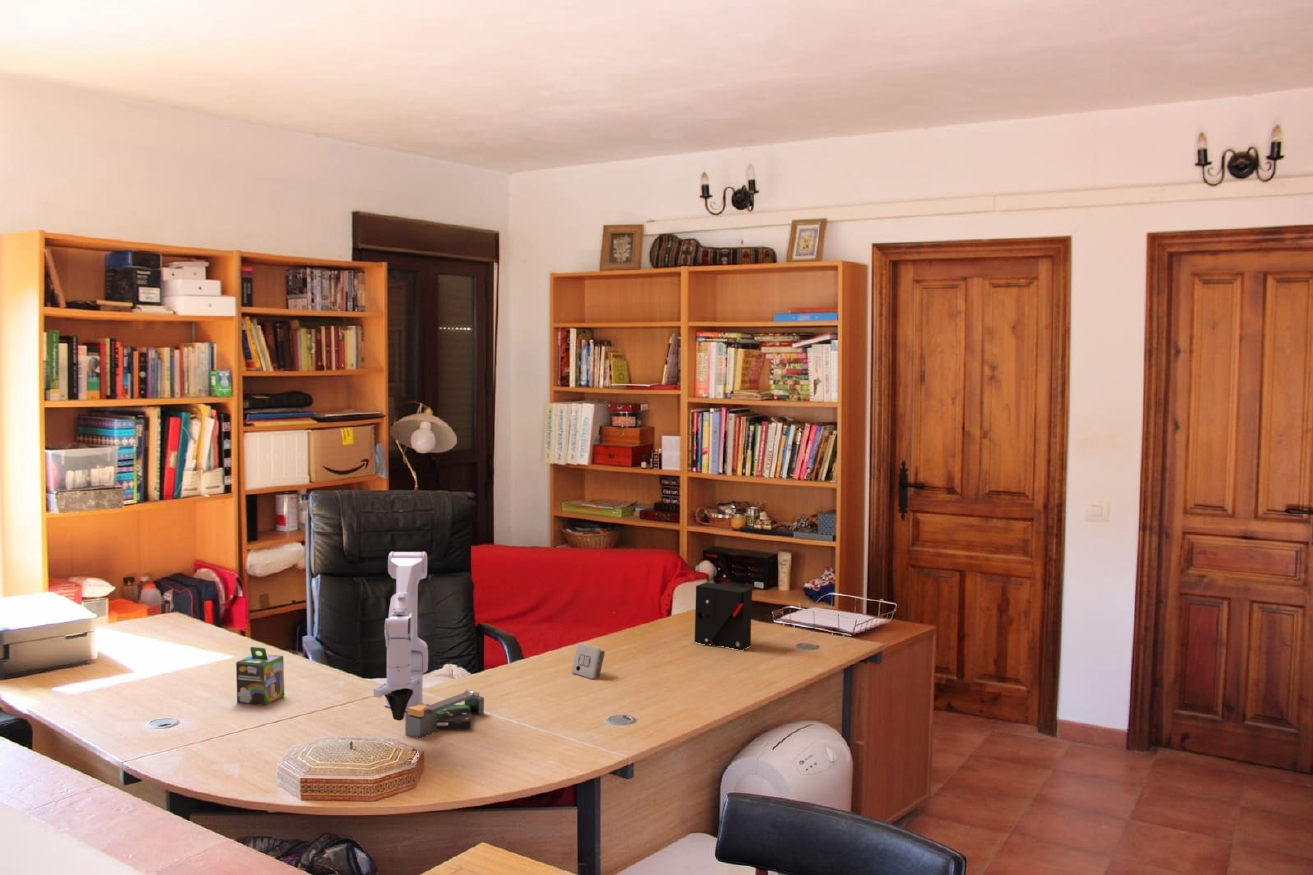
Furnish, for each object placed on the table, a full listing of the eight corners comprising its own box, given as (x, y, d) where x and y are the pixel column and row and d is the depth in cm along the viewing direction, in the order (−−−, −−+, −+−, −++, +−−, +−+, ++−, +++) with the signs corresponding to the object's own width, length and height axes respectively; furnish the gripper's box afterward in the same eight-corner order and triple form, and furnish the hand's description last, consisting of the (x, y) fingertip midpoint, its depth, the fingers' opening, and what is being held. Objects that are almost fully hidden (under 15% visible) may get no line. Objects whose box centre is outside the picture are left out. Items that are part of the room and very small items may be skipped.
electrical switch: (570, 673, 325) (573, 643, 326) (582, 672, 329) (585, 642, 329) (592, 680, 319) (595, 649, 319) (604, 678, 323) (607, 647, 323)
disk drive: (471, 731, 273) (470, 713, 287) (472, 720, 273) (470, 703, 287) (430, 731, 271) (430, 714, 285) (430, 721, 270) (431, 703, 285)
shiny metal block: (405, 734, 268) (405, 715, 268) (469, 710, 289) (469, 691, 288) (420, 738, 266) (420, 719, 265) (483, 713, 286) (484, 695, 286)
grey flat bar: (421, 711, 272) (421, 706, 272) (467, 694, 287) (468, 689, 287) (432, 714, 270) (432, 709, 270) (479, 697, 285) (479, 691, 285)
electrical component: (753, 646, 363) (755, 587, 362) (739, 652, 354) (741, 592, 353) (708, 638, 372) (709, 581, 371) (693, 644, 364) (695, 586, 363)
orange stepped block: (407, 714, 268) (407, 707, 268) (418, 710, 271) (418, 703, 271) (419, 717, 266) (419, 710, 266) (430, 713, 269) (430, 706, 269)
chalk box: (285, 696, 297) (285, 644, 296) (264, 706, 288) (264, 652, 287) (256, 693, 300) (256, 641, 299) (235, 702, 291) (235, 649, 290)
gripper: (388, 674, 253) (388, 730, 254) (431, 660, 266) (431, 714, 266) (367, 669, 257) (367, 724, 258) (410, 656, 269) (410, 709, 270)
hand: (398, 719), depth 262 cm, fingers closed
